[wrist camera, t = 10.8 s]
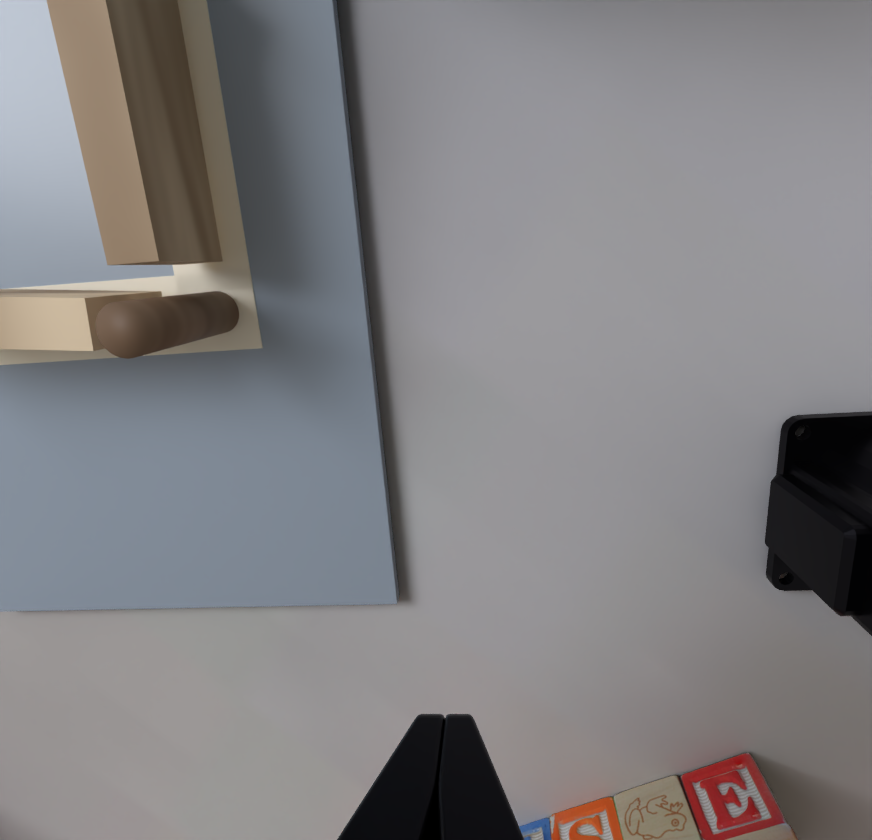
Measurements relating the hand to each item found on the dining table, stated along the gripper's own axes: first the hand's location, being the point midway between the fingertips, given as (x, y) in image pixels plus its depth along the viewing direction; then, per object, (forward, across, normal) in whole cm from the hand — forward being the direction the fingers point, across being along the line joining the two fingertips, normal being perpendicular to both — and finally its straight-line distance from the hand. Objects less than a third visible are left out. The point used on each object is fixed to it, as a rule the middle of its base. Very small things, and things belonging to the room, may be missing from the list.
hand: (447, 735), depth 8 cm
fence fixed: (+12, +8, -11) cm, 18 cm away
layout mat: (+12, +12, -6) cm, 18 cm away
